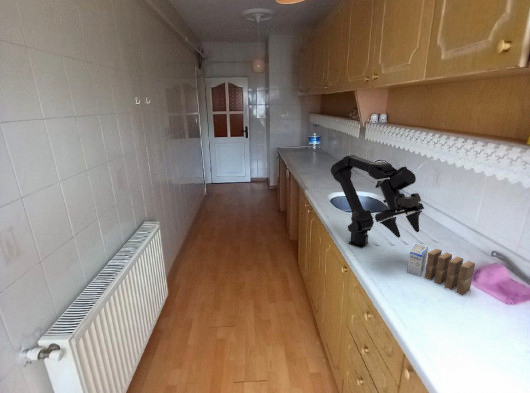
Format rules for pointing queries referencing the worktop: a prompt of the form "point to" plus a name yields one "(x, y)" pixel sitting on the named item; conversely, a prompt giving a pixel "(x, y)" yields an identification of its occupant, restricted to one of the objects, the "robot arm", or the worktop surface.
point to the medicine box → (417, 259)
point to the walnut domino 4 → (465, 277)
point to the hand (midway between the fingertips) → (408, 234)
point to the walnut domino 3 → (453, 272)
